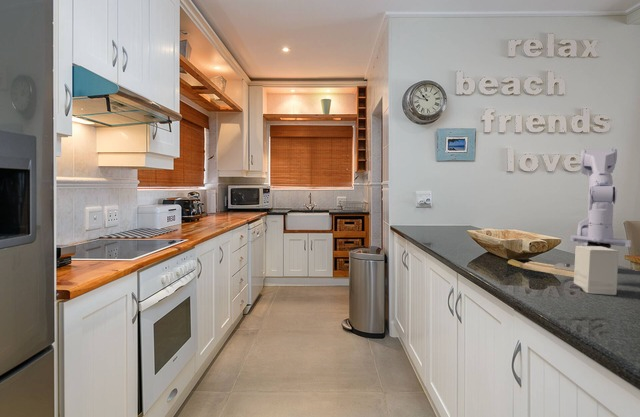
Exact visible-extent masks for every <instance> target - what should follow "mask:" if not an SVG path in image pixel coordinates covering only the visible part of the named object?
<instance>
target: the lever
mask: <svg viewBox="0 0 640 417" xmlns="http://www.w3.org/2000/svg"><path fill="white" fill-rule="evenodd" d="M507 264H509V265H512V266H514V267H518V268H520V264H521V265H523V264H525V263H524V262H521V261H518V260H516V259H513V258H512V259H509V260H508V261H507Z"/></svg>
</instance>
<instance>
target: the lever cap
mask: <svg viewBox="0 0 640 417" xmlns="http://www.w3.org/2000/svg"><path fill="white" fill-rule="evenodd" d="M553 265H554V268H557V269H564V270H570V271H574V269H575V264H571V263H568V262H567V263H566V262H565V263H562V262H558V263H556V264H553Z"/></svg>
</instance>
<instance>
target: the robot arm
mask: <svg viewBox="0 0 640 417" xmlns="http://www.w3.org/2000/svg"><path fill="white" fill-rule="evenodd" d="M617 158H618V150H617V148H615V147H612V148H595V149H592V148H591V149H584V148H583V149H582V150H581V151H580V171H581V172H580V173H581V174H582V175H585V176H586V177H587V178H586V179H587V180H588V192H587V217H586V218H584V219H583V220H581V221H579V223H577V229H576V230H577V231H576V234H572V235H570V238H569V241H570V242H577V243H578V244H580V246H602V247H606V248H610V249H611V248H612V246H616V247H617V246H618V247H625V248H631V247H632V240H631V239H622V238H614V229H613V220H614V218H613V217H614V205H615V204H616V202H617V196H618V193H617V191H618V190H617V186H616V185H615V184H614V182H613V175H612V173H613V172H614V170H615V167H616V163H617Z"/></svg>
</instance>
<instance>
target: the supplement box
mask: <svg viewBox="0 0 640 417" xmlns="http://www.w3.org/2000/svg"><path fill="white" fill-rule="evenodd" d="M574 251H575V252H574V256H575V257H574V265H575V269H574V277H573V284H575V285H577V286H578V287H580V288H579V290H581V291H583V292H584V293H586V294H594V295H609V296H616V295H617V291H618V289H617V288H618V287H617V286H618V272H619V271H618V270H619V255H620V254H619V250H616V249H613V248H611V247H610V248H606V247H602V246H581V245H575V250H574Z"/></svg>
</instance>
